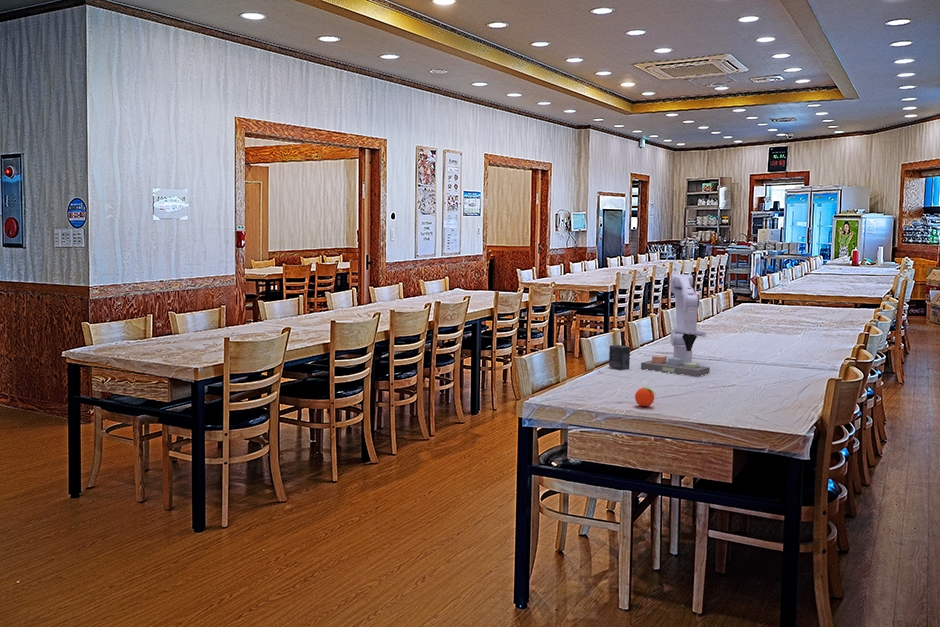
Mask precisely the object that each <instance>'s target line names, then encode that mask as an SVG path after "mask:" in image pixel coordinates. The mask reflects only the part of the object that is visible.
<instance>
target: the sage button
mask: <svg viewBox="0 0 940 627" xmlns="http://www.w3.org/2000/svg"><path fill="white" fill-rule="evenodd" d="M699 366H700V364H699V363H696V362H692V363H685V364H684V367H686V368H693V369H696V368H699Z"/></svg>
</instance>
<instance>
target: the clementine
mask: <svg viewBox="0 0 940 627" xmlns="http://www.w3.org/2000/svg"><path fill="white" fill-rule="evenodd" d="M655 397H656V393H655V391H654V390H653V389H651V388H649V387H639V389H638V390H637V391H636V392H635V393H634V399H635V402H636V403H637V405H638V406H640V407H642V406H647V407H649V406H651V405H652V404H653V403H654V401H655Z"/></svg>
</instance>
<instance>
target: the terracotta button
mask: <svg viewBox="0 0 940 627" xmlns="http://www.w3.org/2000/svg"><path fill="white" fill-rule="evenodd" d="M651 360H652V363H656V364H665V363H666V362H667V361H668V357H667V356H666V355H660V354H659V355H658V354H656V355H653V356H651Z"/></svg>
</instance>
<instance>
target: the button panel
mask: <svg viewBox="0 0 940 627" xmlns="http://www.w3.org/2000/svg"><path fill="white" fill-rule="evenodd" d="M644 369H648V370H647V371H651V370H655V371H654V372H658V371H662V372H661V373H665V372H670V373H669V374H672V373H676V374H675V375H679V374H684V375H683V376H686V375H690V376H689V377H693V376H700V377H702V376H701V375H703V376H706V375H705V374H707V375H709V374H710V370H711V368H710V366H702V365H699V368H696V369H693V368H686V367H684V364H682V366H671V365H668V361H666V363H665V364H656V363H652V359H651V360H647V361H643V362H641V363H640V370H644ZM708 373H709V374H708Z"/></svg>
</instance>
